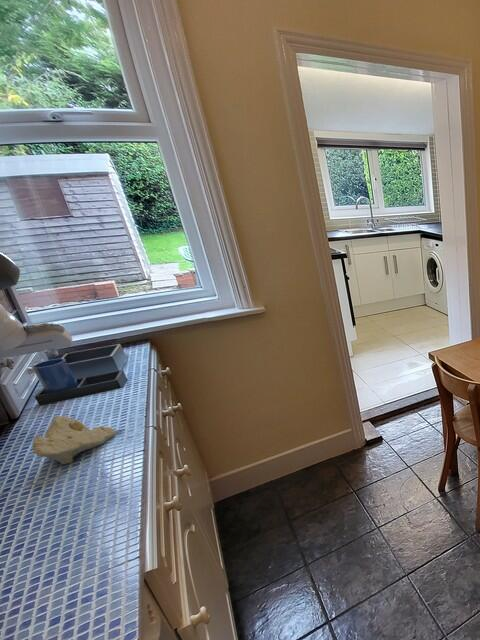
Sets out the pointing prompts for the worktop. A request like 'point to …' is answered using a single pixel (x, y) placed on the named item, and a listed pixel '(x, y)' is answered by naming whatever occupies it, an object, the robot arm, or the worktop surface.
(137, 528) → the worktop surface
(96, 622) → the worktop surface
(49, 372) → the cup
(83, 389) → the divided tray
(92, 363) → the sink
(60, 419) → the cheese
